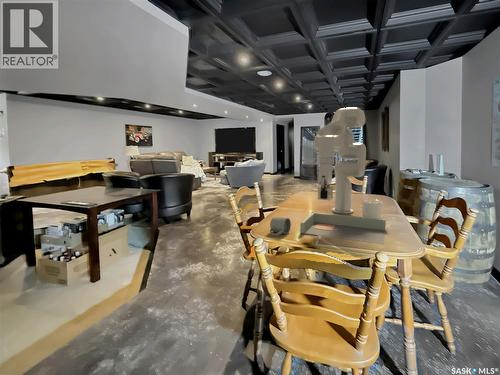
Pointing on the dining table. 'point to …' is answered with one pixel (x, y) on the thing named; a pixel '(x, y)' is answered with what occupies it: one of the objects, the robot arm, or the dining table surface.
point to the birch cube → (329, 193)
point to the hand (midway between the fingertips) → (325, 197)
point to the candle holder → (372, 208)
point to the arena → (344, 227)
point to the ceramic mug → (280, 226)
